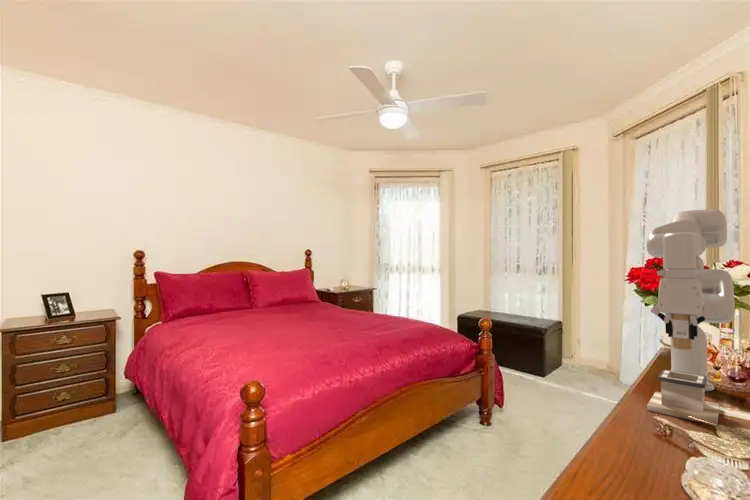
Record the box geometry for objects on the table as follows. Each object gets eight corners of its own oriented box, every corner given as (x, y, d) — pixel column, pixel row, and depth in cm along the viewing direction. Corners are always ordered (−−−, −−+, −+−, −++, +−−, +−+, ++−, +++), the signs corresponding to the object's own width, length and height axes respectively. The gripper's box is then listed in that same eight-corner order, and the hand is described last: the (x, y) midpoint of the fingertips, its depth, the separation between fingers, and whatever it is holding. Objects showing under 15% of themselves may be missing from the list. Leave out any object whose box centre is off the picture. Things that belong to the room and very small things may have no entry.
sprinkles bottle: (694, 348, 109) (692, 302, 109) (688, 351, 107) (686, 303, 107) (675, 345, 113) (673, 300, 113) (669, 348, 111) (667, 302, 111)
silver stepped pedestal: (655, 396, 120) (654, 366, 120) (719, 408, 110) (718, 376, 110) (647, 410, 109) (646, 377, 109) (717, 425, 99) (716, 389, 99)
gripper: (642, 274, 113) (643, 335, 113) (718, 276, 102) (720, 344, 101) (646, 273, 119) (648, 331, 118) (719, 274, 107) (721, 339, 107)
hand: (681, 336), depth 110 cm, fingers closed on sprinkles bottle, 4 cm apart
